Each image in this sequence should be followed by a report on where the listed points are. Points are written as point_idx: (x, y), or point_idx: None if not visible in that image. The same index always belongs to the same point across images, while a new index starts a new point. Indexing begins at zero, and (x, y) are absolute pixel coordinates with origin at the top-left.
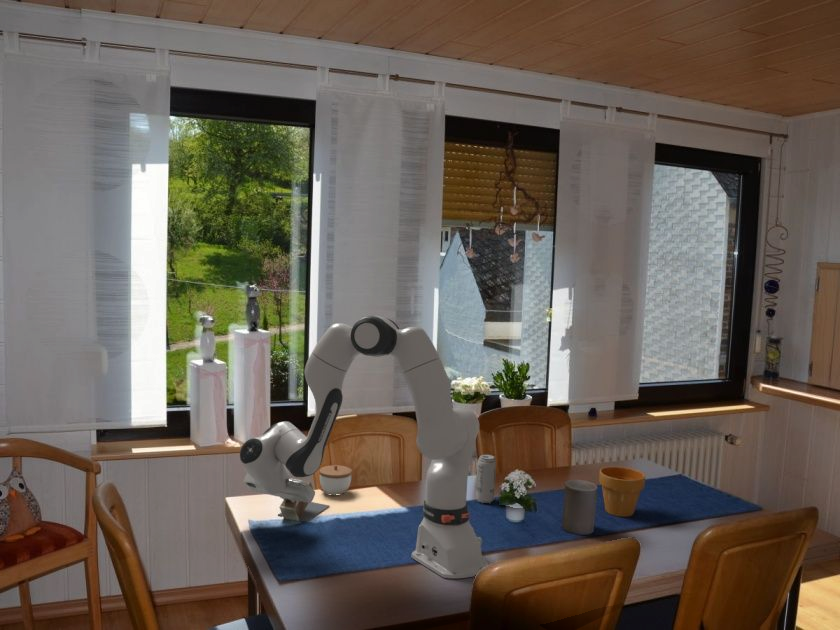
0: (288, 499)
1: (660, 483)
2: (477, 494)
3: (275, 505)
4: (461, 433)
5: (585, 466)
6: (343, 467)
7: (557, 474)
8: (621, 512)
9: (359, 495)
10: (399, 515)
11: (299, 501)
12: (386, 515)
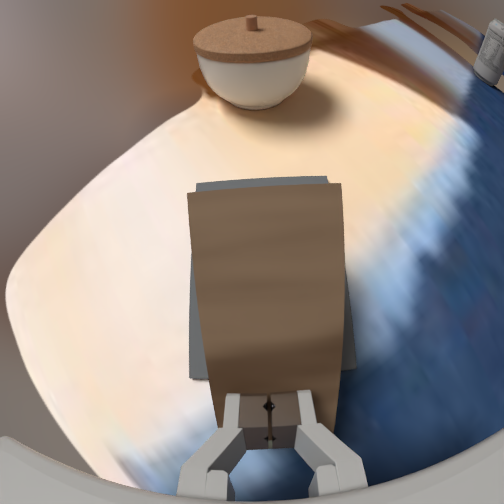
0: (279, 446)
1: None
2: (488, 73)
3: (122, 274)
4: None
5: (435, 13)
6: (262, 19)
7: (441, 23)
8: None
9: (329, 86)
10: (490, 161)
11: (338, 384)
12: (480, 171)
